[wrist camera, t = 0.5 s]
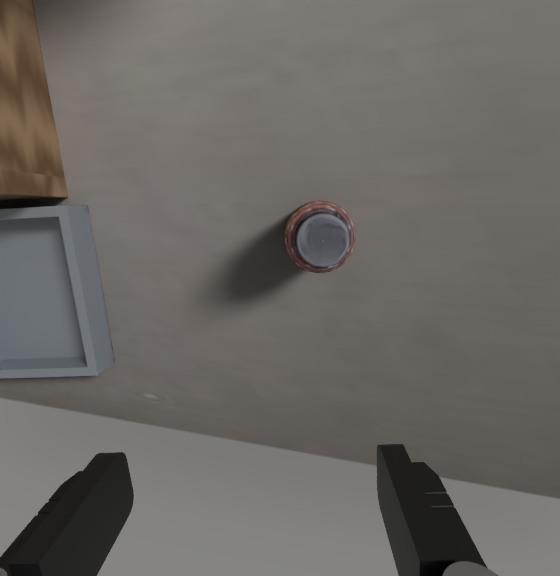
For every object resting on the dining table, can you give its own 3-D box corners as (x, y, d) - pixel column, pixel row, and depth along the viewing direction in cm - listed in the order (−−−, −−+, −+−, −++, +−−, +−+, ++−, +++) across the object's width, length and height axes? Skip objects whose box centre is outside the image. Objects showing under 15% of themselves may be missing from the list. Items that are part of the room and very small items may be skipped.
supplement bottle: (292, 265, 37) (291, 288, 26) (279, 210, 36) (272, 210, 25) (347, 252, 37) (369, 270, 26) (335, 196, 36) (354, 190, 25)
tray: (-36, 213, 38) (-70, 213, 34) (87, 205, 37) (66, 205, 33) (2, 365, 42) (-25, 379, 38) (114, 361, 41) (98, 375, 37)
